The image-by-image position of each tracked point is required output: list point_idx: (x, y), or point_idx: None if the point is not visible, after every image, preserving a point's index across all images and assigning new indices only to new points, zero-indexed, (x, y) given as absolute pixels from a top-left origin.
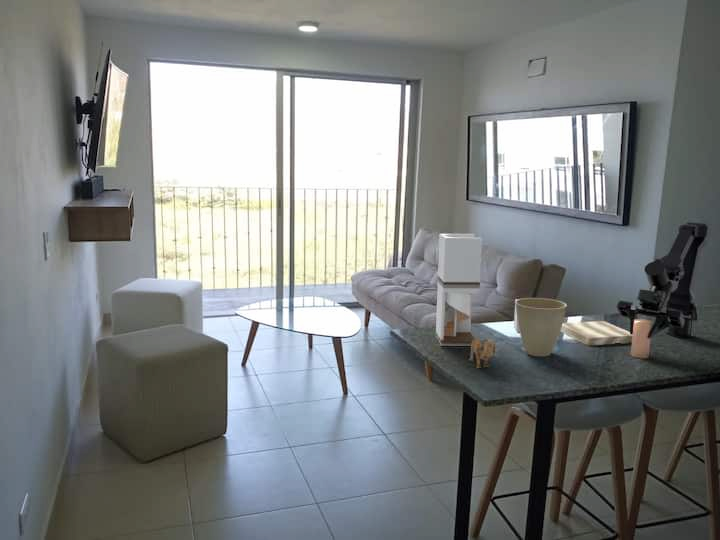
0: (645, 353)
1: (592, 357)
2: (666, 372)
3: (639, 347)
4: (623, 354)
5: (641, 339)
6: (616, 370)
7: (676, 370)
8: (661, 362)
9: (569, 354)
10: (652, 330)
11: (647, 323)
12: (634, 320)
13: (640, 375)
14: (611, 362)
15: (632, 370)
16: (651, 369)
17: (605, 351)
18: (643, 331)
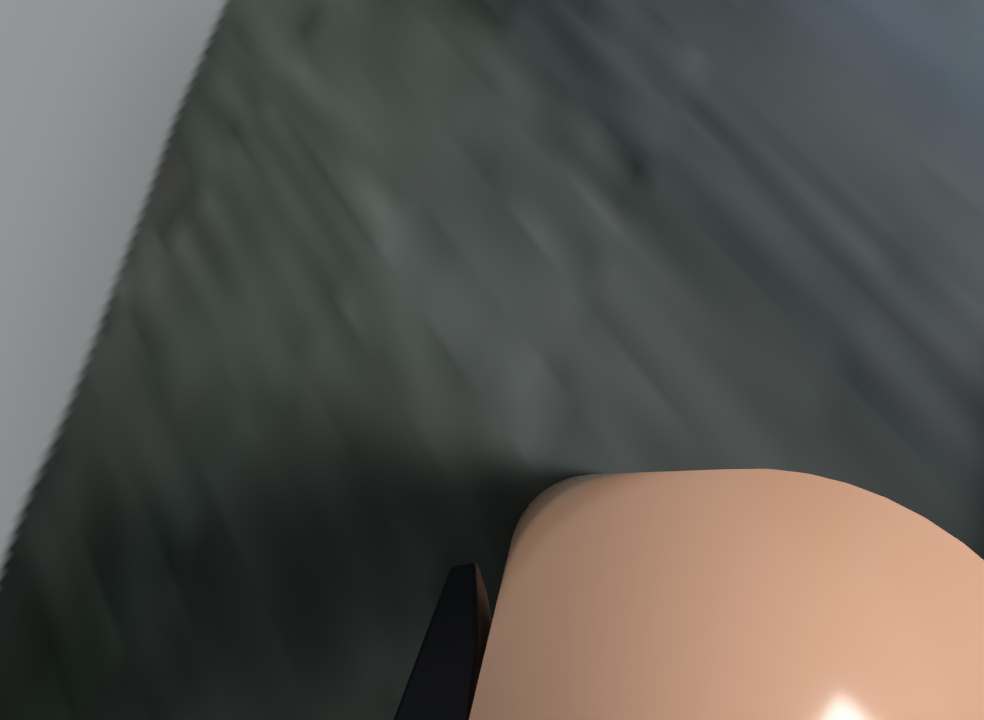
0: (511, 541)
1: (756, 110)
2: (185, 341)
3: (561, 486)
4: (702, 445)
5: (556, 498)
6: (435, 37)
7: (156, 471)
8: (350, 567)
9: (904, 4)
10: (422, 694)
11: (499, 636)
12: (967, 557)
13: (272, 103)
14: (583, 148)
15: (369, 140)
16: (296, 295)
17: (855, 361)
18: (547, 519)
